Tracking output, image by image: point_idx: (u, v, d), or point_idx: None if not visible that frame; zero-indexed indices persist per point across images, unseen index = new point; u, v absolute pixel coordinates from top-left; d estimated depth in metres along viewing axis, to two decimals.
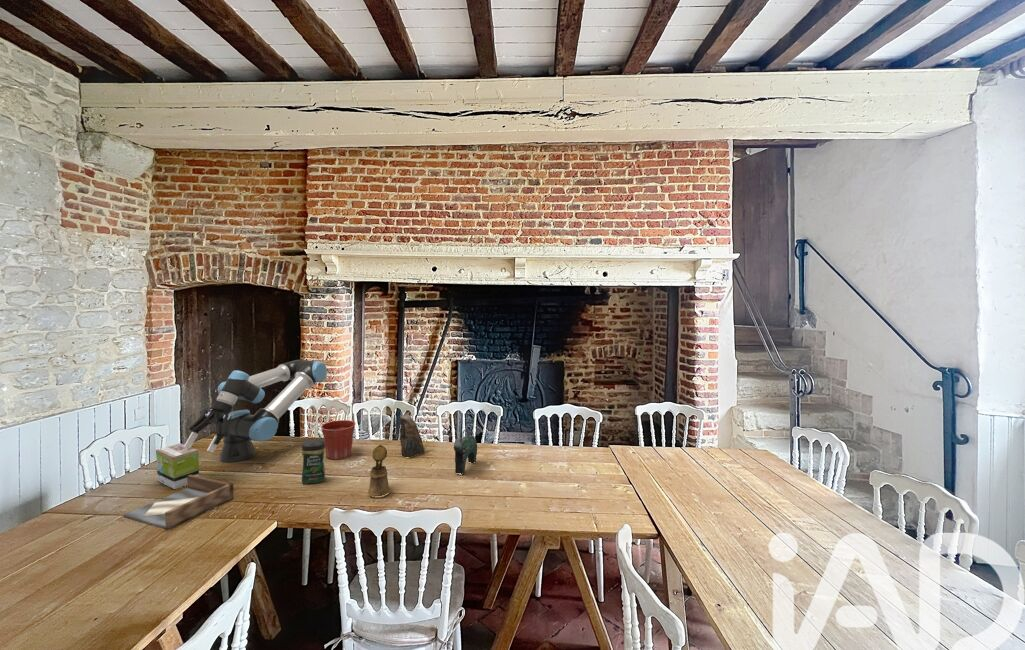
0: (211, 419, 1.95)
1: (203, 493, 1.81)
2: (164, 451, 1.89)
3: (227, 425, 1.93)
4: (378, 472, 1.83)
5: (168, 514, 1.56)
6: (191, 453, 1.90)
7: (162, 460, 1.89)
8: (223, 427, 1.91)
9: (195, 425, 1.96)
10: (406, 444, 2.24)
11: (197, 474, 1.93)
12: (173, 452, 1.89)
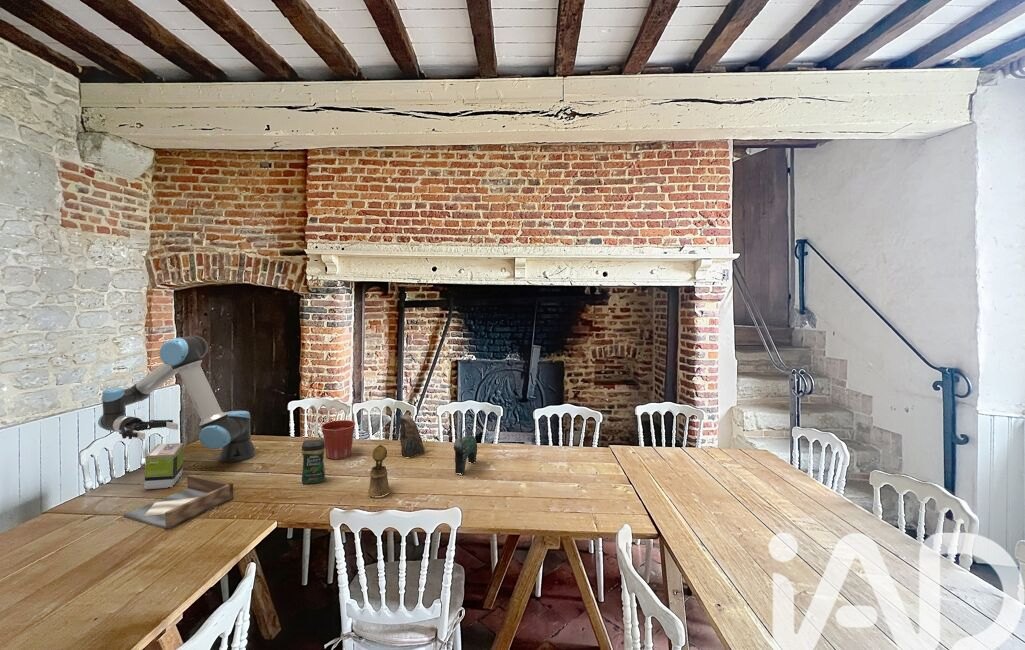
0: None
1: (203, 493, 1.81)
2: (155, 447, 1.91)
3: (121, 432, 1.90)
4: (378, 472, 1.83)
5: (168, 514, 1.56)
6: (166, 456, 1.86)
7: None
8: None
9: None
10: (406, 444, 2.24)
11: (170, 479, 1.87)
12: (156, 451, 1.88)
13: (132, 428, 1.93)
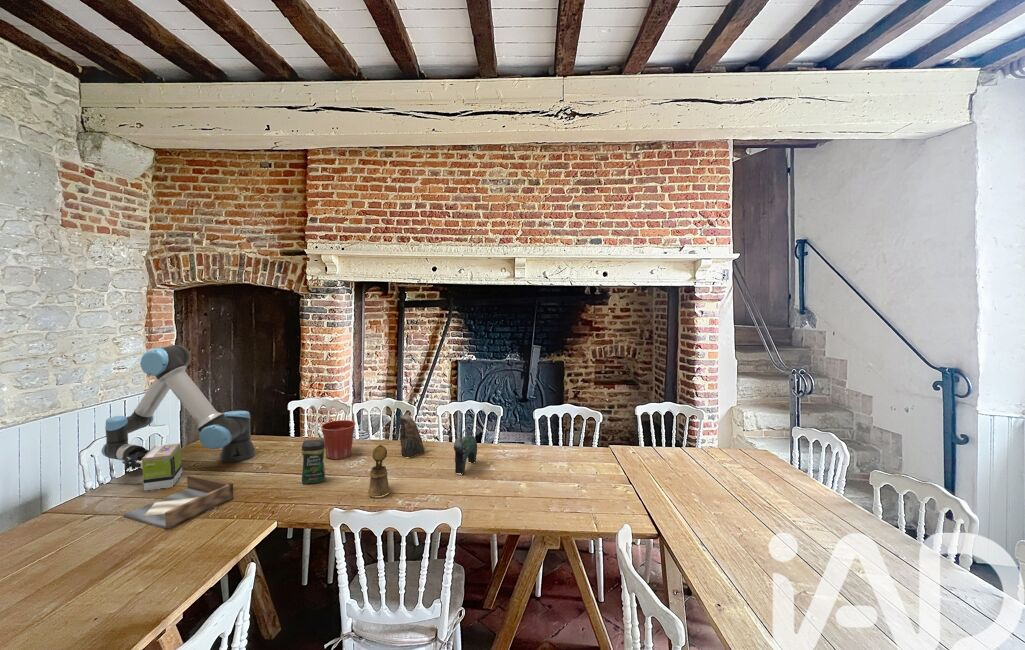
0: None
1: (203, 493, 1.81)
2: (151, 450, 1.91)
3: (124, 462, 1.91)
4: (378, 472, 1.83)
5: (168, 514, 1.56)
6: (162, 457, 1.85)
7: None
8: None
9: None
10: (406, 444, 2.24)
11: (169, 480, 1.87)
12: (153, 452, 1.87)
13: (135, 458, 1.94)
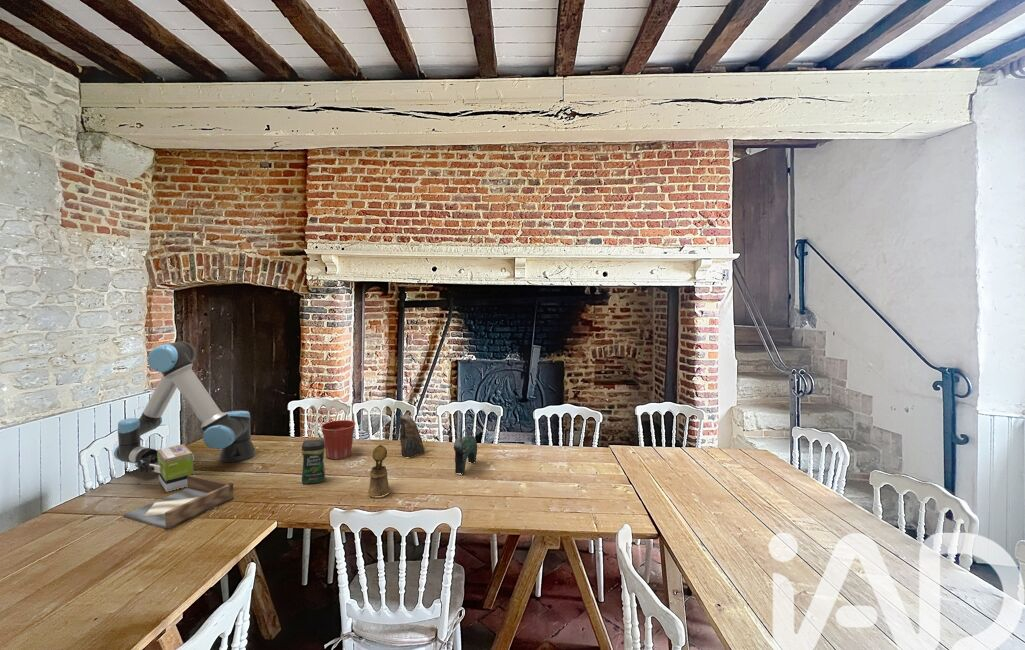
0: None
1: (203, 493, 1.81)
2: (162, 452, 1.88)
3: (138, 465, 1.88)
4: (378, 472, 1.83)
5: (168, 514, 1.56)
6: (185, 456, 1.87)
7: (159, 460, 1.88)
8: None
9: None
10: (406, 444, 2.24)
11: None
12: (169, 454, 1.86)
13: (148, 461, 1.91)
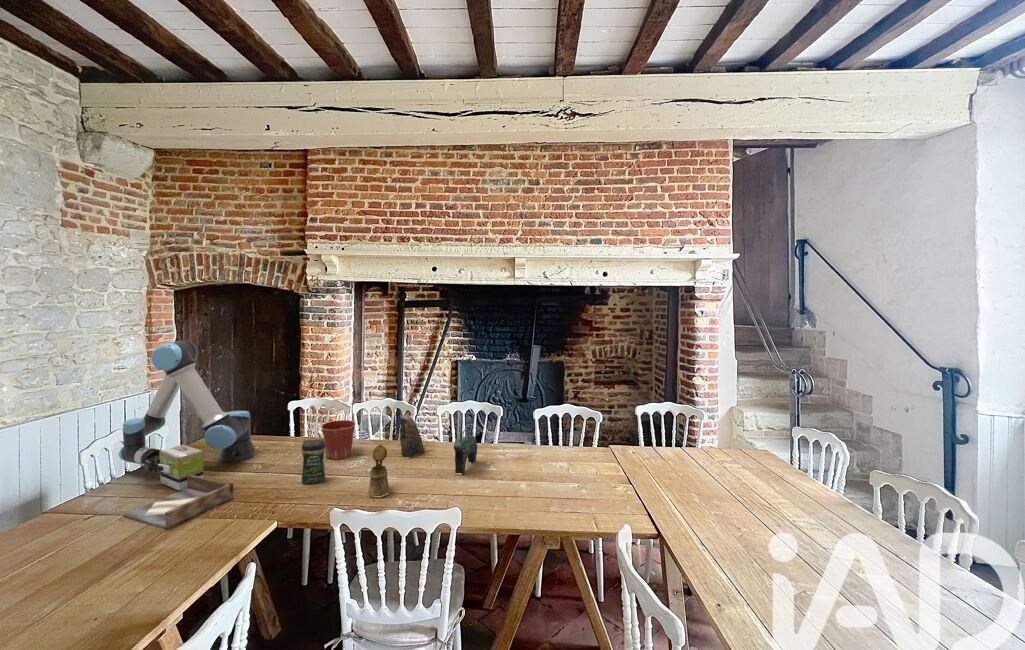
0: None
1: (203, 493, 1.81)
2: (168, 452, 1.88)
3: (145, 466, 1.88)
4: (378, 472, 1.83)
5: (168, 514, 1.56)
6: (196, 454, 1.89)
7: (166, 461, 1.87)
8: None
9: None
10: (406, 444, 2.24)
11: (201, 475, 1.92)
12: (178, 453, 1.87)
13: (156, 461, 1.91)
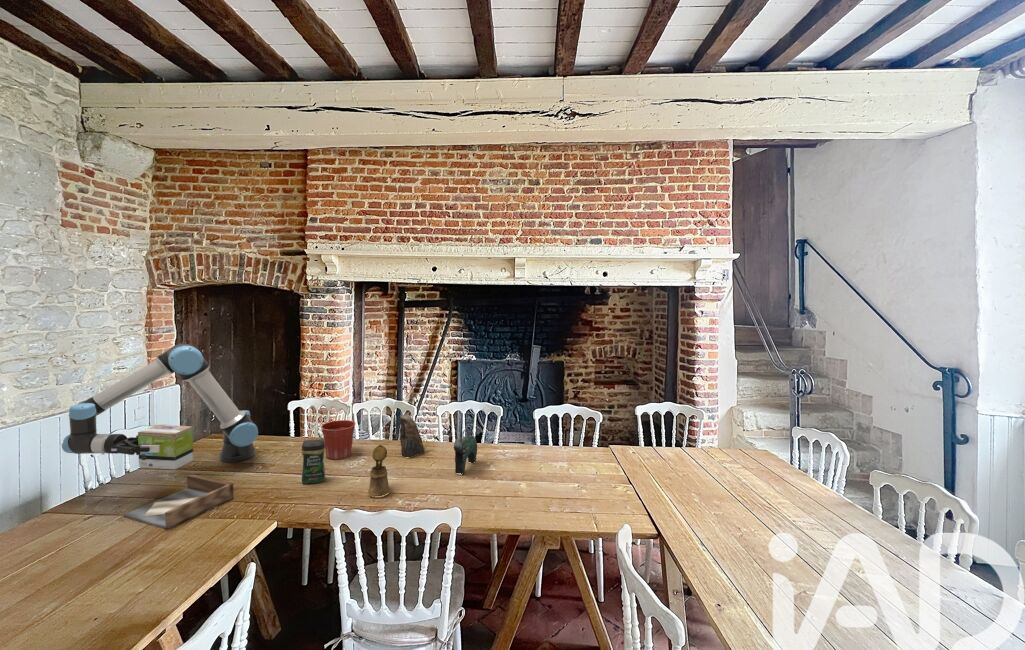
0: None
1: (203, 493, 1.81)
2: (153, 431, 1.73)
3: (122, 449, 1.69)
4: (378, 472, 1.83)
5: (168, 514, 1.56)
6: (187, 430, 1.79)
7: (152, 440, 1.72)
8: None
9: None
10: (406, 444, 2.24)
11: (192, 452, 1.81)
12: (167, 430, 1.74)
13: (131, 444, 1.72)
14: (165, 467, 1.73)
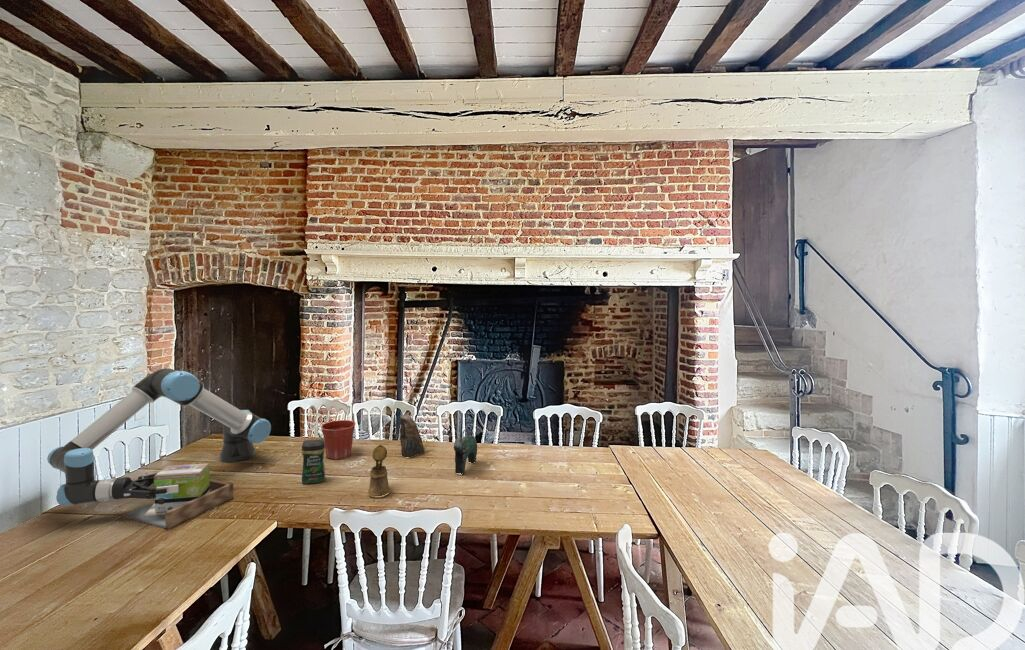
0: None
1: None
2: (172, 473, 1.66)
3: (137, 494, 1.59)
4: (378, 472, 1.83)
5: (168, 514, 1.56)
6: (206, 467, 1.74)
7: (172, 483, 1.65)
8: None
9: None
10: (406, 444, 2.24)
11: (209, 490, 1.77)
12: (187, 470, 1.68)
13: (145, 487, 1.63)
14: None
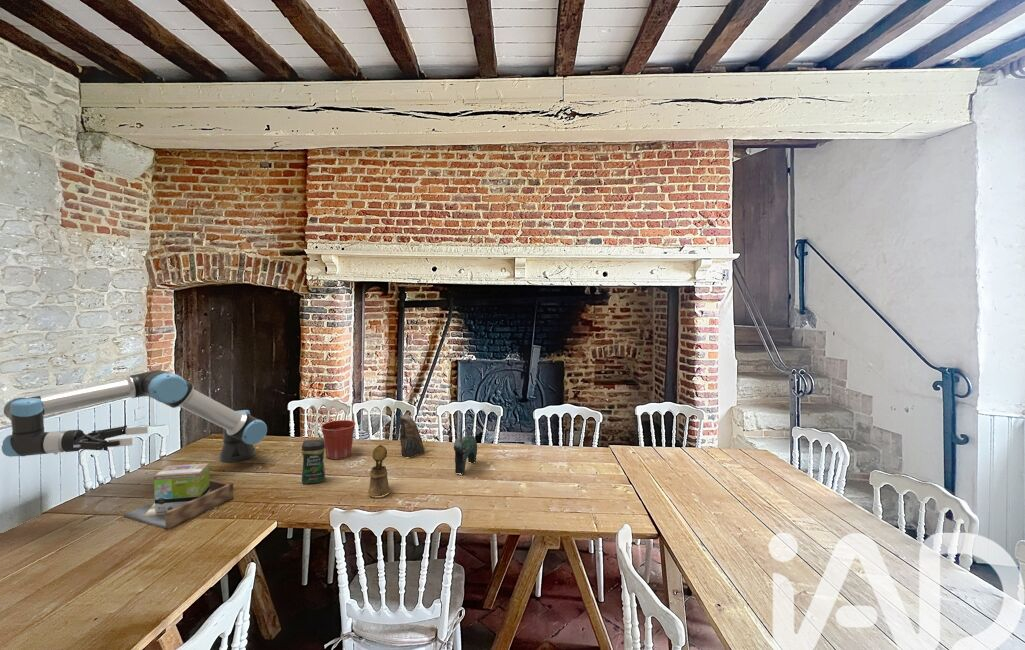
0: None
1: None
2: (172, 473, 1.66)
3: (87, 445, 1.53)
4: (378, 472, 1.83)
5: (168, 514, 1.56)
6: (206, 467, 1.74)
7: (172, 483, 1.65)
8: None
9: None
10: (406, 444, 2.24)
11: (209, 490, 1.77)
12: (187, 470, 1.68)
13: (96, 439, 1.56)
14: None
